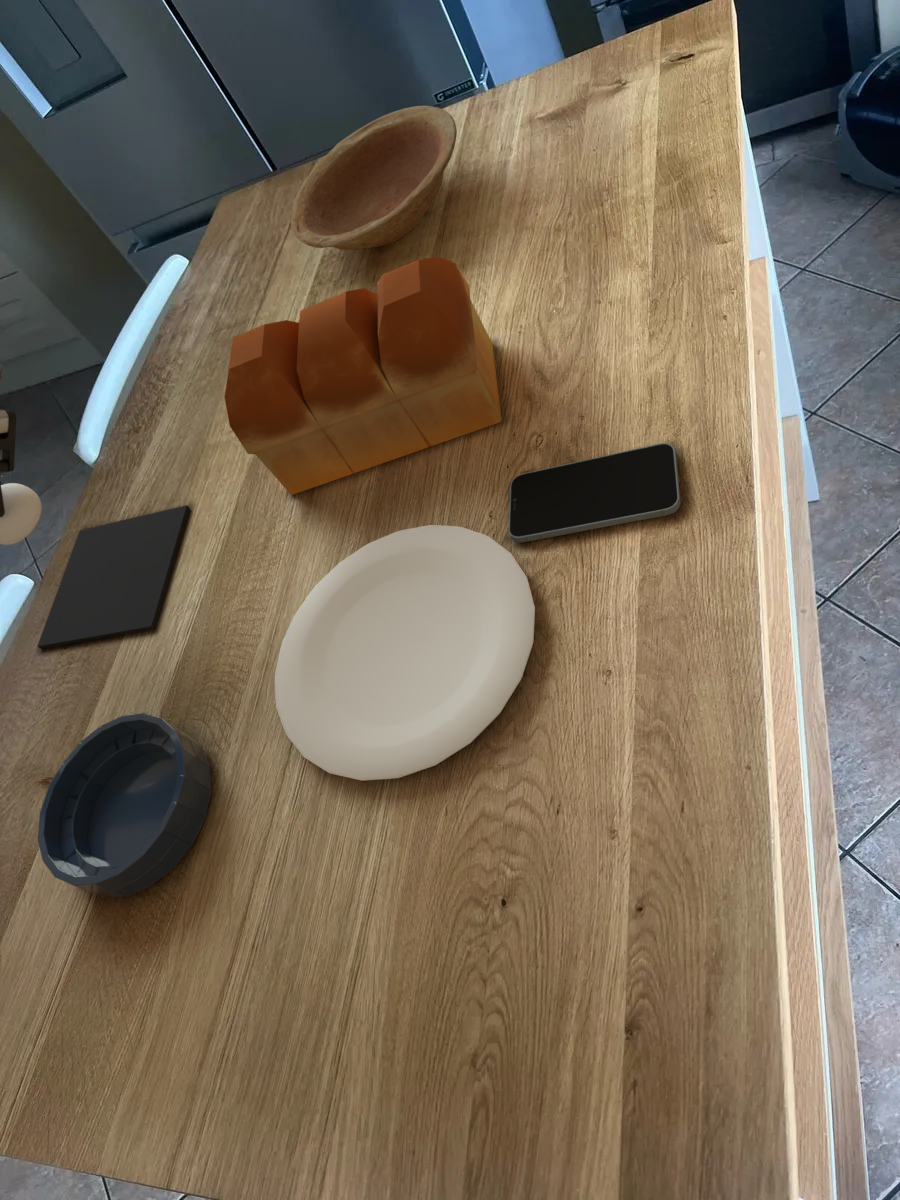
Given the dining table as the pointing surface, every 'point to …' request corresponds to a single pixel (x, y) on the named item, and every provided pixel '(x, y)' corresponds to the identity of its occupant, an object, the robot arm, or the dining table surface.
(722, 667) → the dining table surface
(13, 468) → the robot arm
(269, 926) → the dining table surface
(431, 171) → the bowl
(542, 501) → the smartphone
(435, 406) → the bread
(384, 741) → the plate
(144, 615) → the mat
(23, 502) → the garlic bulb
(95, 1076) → the dining table surface
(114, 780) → the glazed bowl
